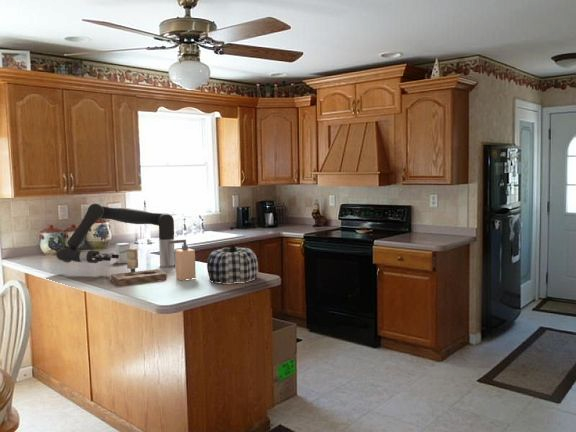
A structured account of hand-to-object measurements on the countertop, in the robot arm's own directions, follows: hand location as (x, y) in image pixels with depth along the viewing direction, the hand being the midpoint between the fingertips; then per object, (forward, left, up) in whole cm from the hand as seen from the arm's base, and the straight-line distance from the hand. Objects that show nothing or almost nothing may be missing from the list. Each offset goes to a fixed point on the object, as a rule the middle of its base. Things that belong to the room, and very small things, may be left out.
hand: (114, 257), depth 302 cm
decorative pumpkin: (-51, +51, -11) cm, 73 cm away
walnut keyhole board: (-7, +23, -10) cm, 26 cm away
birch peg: (-8, +8, -10) cm, 15 cm away
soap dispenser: (-28, +34, -10) cm, 45 cm away
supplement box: (-15, -41, -10) cm, 45 cm away
